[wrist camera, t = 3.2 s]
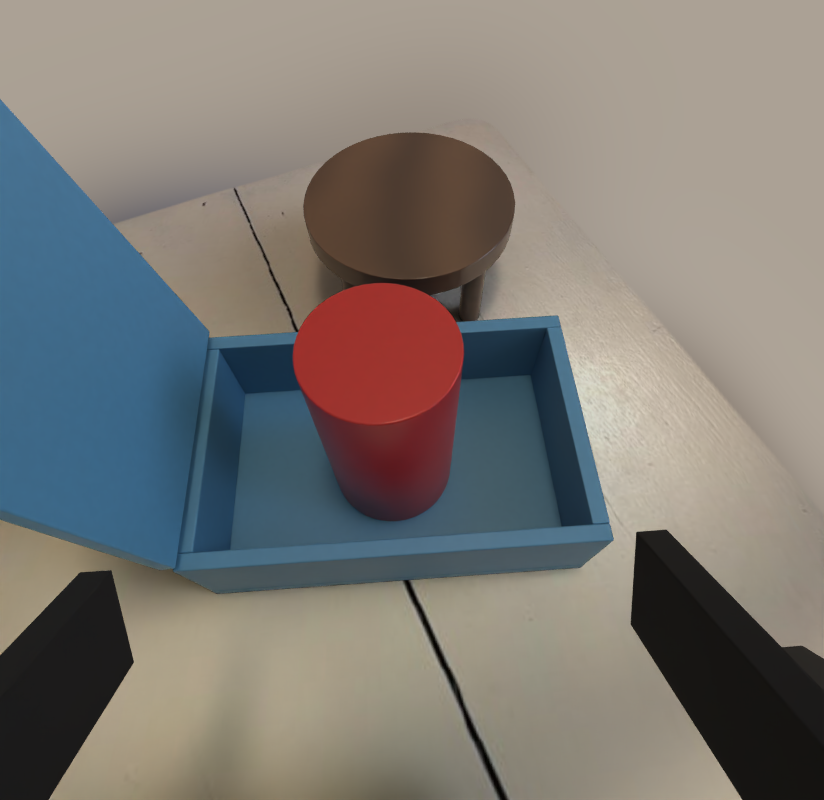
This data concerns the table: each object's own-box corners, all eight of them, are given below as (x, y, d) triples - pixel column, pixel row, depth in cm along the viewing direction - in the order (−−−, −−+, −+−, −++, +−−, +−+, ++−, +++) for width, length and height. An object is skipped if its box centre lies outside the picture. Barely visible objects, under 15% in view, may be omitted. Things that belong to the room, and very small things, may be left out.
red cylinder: (444, 411, 33) (454, 277, 22) (455, 517, 29) (474, 418, 19) (336, 419, 33) (295, 287, 22) (336, 525, 29) (288, 431, 19)
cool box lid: (-272, -206, 12) (-301, -194, 12) (-952, 190, 5) (-1002, 206, 6) (210, 331, 29) (196, 333, 29) (176, 568, 23) (158, 570, 23)
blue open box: (538, 370, 35) (558, 315, 30) (580, 567, 29) (614, 540, 24) (238, 390, 35) (206, 337, 29) (216, 593, 28) (171, 571, 23)
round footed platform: (487, 209, 42) (498, 126, 36) (513, 344, 36) (532, 271, 30) (323, 219, 42) (306, 137, 36) (320, 356, 36) (299, 286, 30)
